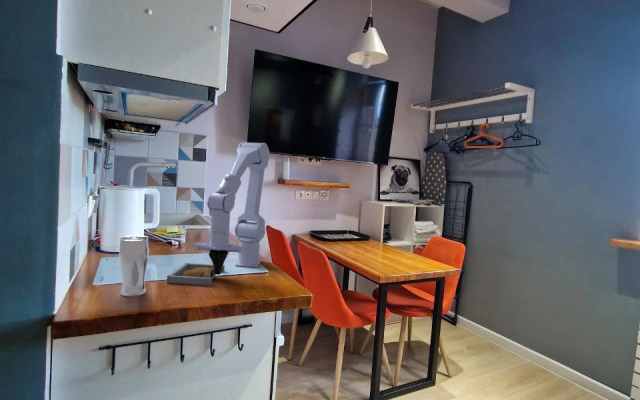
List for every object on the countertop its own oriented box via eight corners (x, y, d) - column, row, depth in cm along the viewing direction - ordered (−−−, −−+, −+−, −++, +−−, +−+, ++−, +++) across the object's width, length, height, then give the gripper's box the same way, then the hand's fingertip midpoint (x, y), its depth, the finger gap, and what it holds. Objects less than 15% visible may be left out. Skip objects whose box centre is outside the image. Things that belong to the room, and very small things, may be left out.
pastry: (179, 280, 110) (179, 268, 110) (189, 274, 117) (189, 262, 117) (208, 283, 110) (209, 271, 109) (217, 277, 116) (217, 265, 116)
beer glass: (152, 289, 101) (153, 236, 100) (139, 298, 94) (141, 241, 93) (127, 287, 101) (128, 234, 100) (113, 296, 94) (113, 239, 93)
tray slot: (185, 268, 122) (186, 263, 122) (224, 271, 122) (224, 265, 122) (166, 282, 107) (167, 276, 107) (210, 285, 107) (211, 279, 107)
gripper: (192, 231, 109) (190, 275, 111) (240, 235, 109) (238, 278, 111) (200, 228, 116) (198, 269, 118) (245, 230, 116) (243, 272, 118)
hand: (218, 273), depth 115 cm, fingers closed
